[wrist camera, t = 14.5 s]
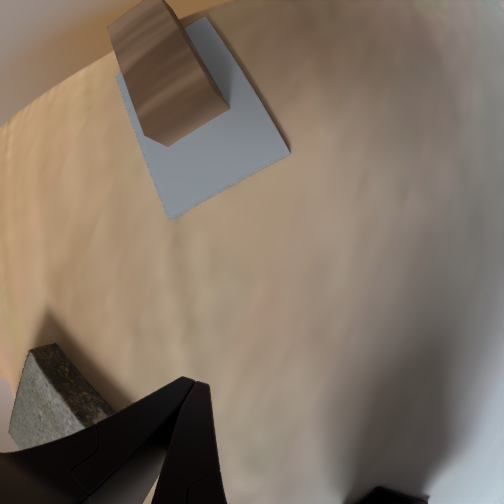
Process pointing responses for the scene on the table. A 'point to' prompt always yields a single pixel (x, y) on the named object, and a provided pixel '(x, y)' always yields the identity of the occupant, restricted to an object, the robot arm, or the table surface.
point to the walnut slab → (164, 73)
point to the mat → (211, 135)
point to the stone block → (53, 399)
